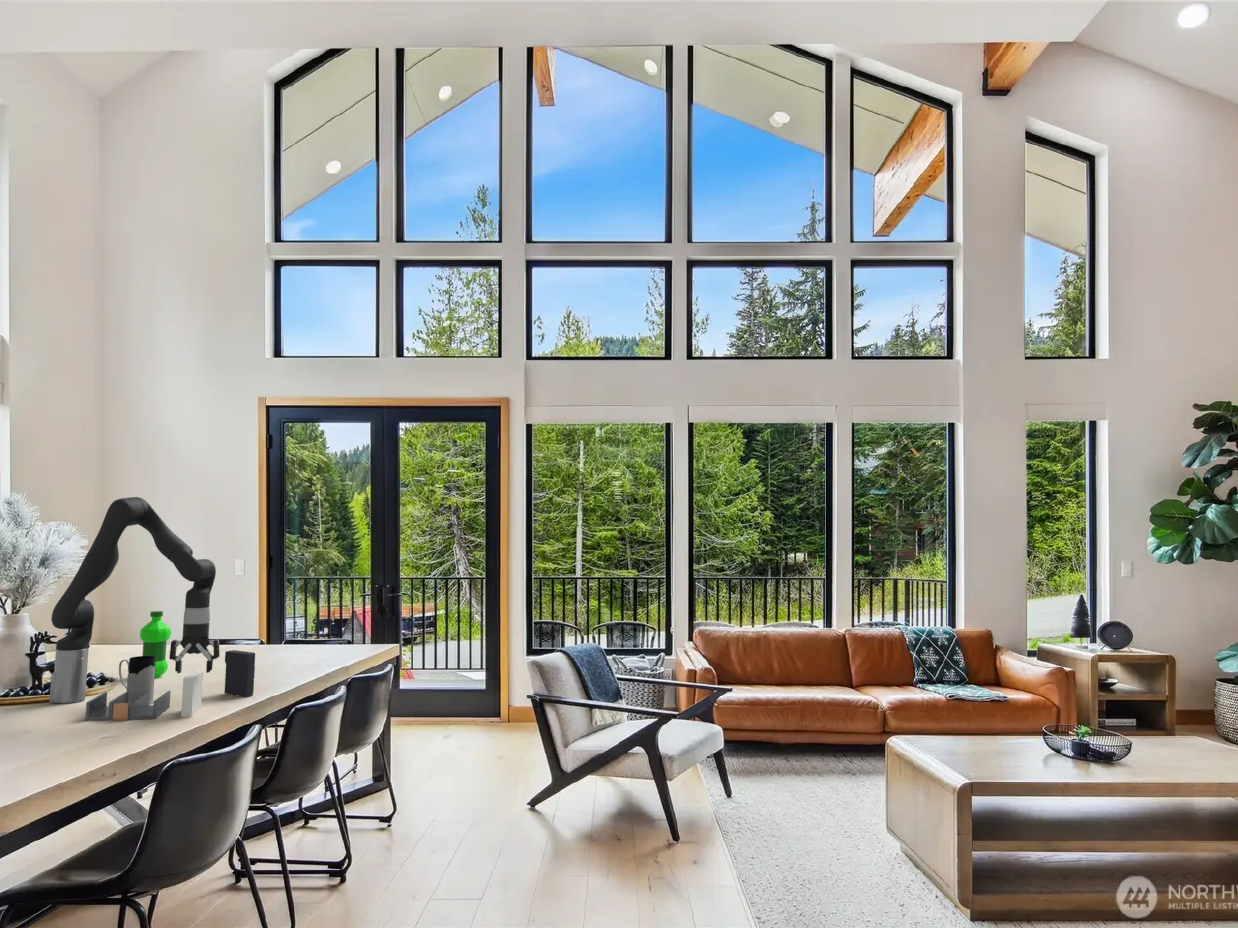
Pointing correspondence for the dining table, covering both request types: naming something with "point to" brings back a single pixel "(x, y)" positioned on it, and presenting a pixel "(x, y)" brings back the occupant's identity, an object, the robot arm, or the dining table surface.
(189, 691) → the panel
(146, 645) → the plastic bottle
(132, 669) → the tall mug
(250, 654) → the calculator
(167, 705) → the rack
